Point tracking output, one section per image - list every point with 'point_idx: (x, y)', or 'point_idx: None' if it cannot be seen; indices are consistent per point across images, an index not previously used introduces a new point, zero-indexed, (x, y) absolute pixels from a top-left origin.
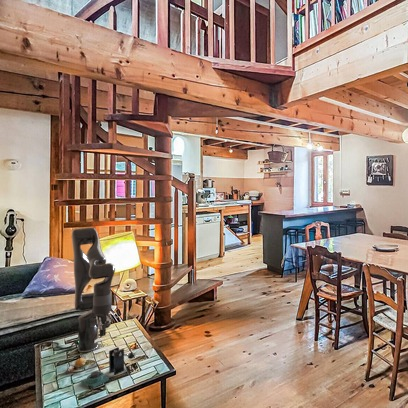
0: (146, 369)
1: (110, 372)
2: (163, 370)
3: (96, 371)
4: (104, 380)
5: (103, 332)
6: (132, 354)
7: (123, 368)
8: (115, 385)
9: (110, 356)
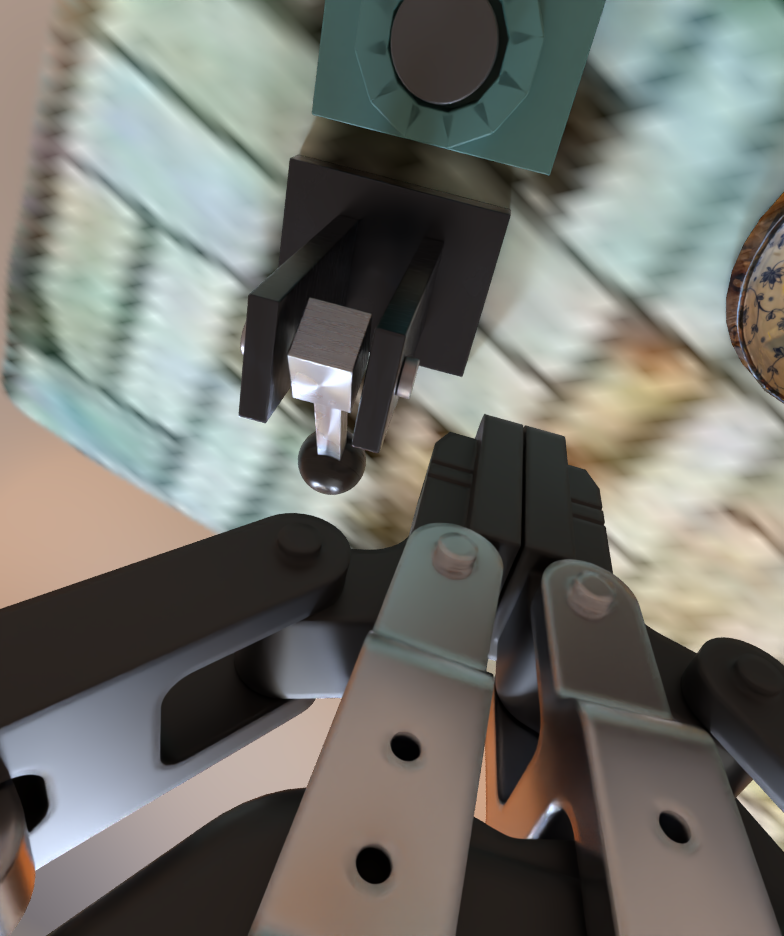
0: (190, 384)
1: (423, 240)
2: (49, 393)
3: (462, 87)
4: (321, 54)
5: (423, 495)
6: (300, 462)
7: None
8: (212, 76)
9: (389, 301)
